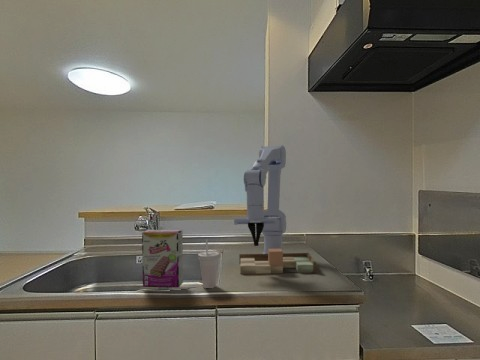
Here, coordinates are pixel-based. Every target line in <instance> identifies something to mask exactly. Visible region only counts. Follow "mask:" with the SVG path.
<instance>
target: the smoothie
mask: <svg viewBox="0 0 480 360" xmlns="http://www.w3.org/2000/svg"><path fill="white" fill-rule="evenodd" d="M208 240H209V239H208V238H205V251H202V252H199V253H198V254H197V258H198V260H199V266H200V267H199V268H200V273H201V280H202V288H203V287H204V288H203V289H206V288H212V289H214V287H215V288H216V287H217V280H218V279H217V277H218V269H219V267H218V266H219V259H220V257H221V256H220V253H219V252H218V251H209V250H208V249H209V241H208Z"/></svg>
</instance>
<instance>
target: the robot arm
mask: <svg viewBox="0 0 480 360" xmlns="http://www.w3.org/2000/svg"><path fill="white" fill-rule="evenodd" d="M285 147H286V146H284V145H283V144H282V145H271V146H268V145H267V146H262V145H261V146H260V148H259V151H258V157H259V158H257V159H256V160H255V161H254V163H253V165H251V167H250V169H247V170H246V171H245V172H244V173H243V184H244V191H245V192H246V217H235V218H233V225H235V226H237V225H247V227H248V230H249V232H250V235H251V237H252V241H253V246H254V247H256V246H257V247H259V243H260V238H261V235H263V242H264V243H263V247H264V250H263V251H262V254H268V249H282V250H283V234H285V232H286V231H287V219H286V218H287V216H286V214H285V213H284V212H283V211H281V210H280V197H281V193H280V191H281V189H280V188H281V175H282V174H281V173H282V169H284V168H286V164H287V163H286V162H287V152H286V148H285ZM267 174H268V186H267V187H268V188H267V204H266V206H267V207H266V210H265V207H264V206H265V205H264V204H265V200H264V199H265V198H264V197H265V196H264V195H265V193H264V187H265V185H266V182H267Z"/></svg>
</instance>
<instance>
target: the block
mask: <svg viewBox="0 0 480 360" xmlns="http://www.w3.org/2000/svg"><path fill="white" fill-rule="evenodd" d="M283 253H284V251H283V248H282V249H268V262H269V265H283Z"/></svg>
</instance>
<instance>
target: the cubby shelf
mask: <svg viewBox="0 0 480 360" xmlns="http://www.w3.org/2000/svg"><path fill="white" fill-rule="evenodd" d="M238 257H239V266H240V268H239V269H240V271H239V272H240V275H243V274H244V275H247V274H249V275H250V274H251V275H252V274H256V275H257V274H308V273H311V274H317V262H316V261H315V259H314V258H313V257H312V256H311V254H310V253H309V252H288V253H287V252H286V253H284V252H283V265H269V262H268V254H263V253H240V254H239V256H238Z"/></svg>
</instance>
